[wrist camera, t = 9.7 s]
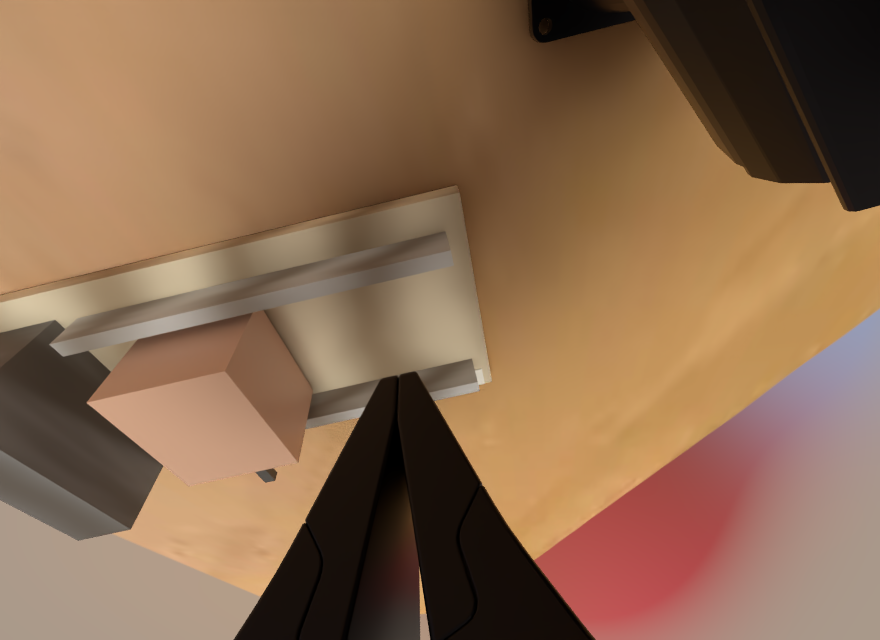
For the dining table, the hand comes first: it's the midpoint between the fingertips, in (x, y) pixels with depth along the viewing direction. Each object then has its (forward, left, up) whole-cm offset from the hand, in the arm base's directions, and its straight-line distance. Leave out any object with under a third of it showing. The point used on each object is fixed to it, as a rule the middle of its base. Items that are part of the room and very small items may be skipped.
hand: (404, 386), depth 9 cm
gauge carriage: (+11, +8, -11) cm, 17 cm away
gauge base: (+9, +6, -12) cm, 16 cm away
